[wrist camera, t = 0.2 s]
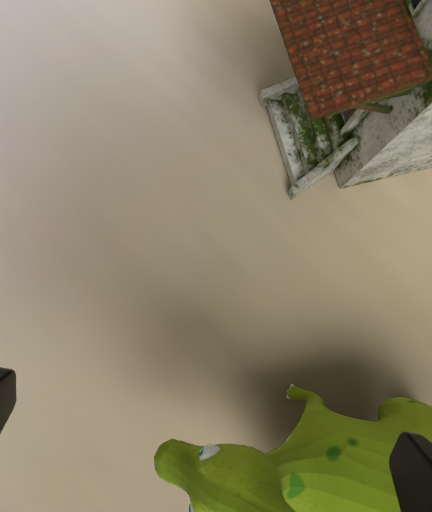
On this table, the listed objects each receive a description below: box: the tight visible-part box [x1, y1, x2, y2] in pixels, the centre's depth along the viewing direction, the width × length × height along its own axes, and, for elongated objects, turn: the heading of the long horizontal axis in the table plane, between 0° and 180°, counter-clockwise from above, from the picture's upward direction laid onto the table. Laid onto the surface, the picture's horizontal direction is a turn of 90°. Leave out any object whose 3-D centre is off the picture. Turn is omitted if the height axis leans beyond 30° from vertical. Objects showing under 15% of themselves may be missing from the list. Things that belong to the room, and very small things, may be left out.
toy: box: [154, 384, 432, 512], centre depth 16 cm, size 8×21×15 cm
